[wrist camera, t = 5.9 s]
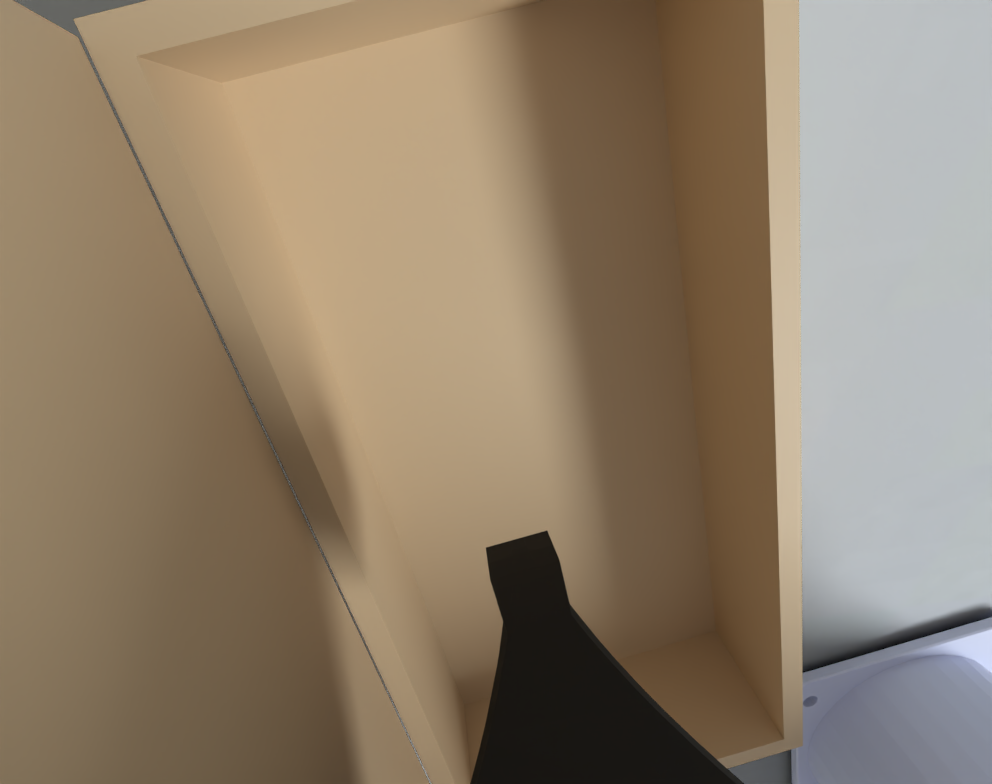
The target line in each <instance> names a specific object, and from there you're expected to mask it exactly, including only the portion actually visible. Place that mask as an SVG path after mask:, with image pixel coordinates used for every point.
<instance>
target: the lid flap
mask: <svg viewBox="0 0 992 784" xmlns="http://www.w3.org/2000/svg"><path fill="white" fill-rule="evenodd" d="M0 784H430V783H429V781H428V779H427V777H426V775H425V772H424V770H423V768H422V766H421V764H420V762H419V760H418V758H417V755H416V753H415V751H414V749H413V747H412V745H411V743H410V741H409V739H408V736H407V734H406V732H405V730H404V728H403V726H402V724H401V722H400V719H399V717H398V715H397V713H396V711H395V709H394V707H393V705H392V702H391V700H390V698H389V696H388V694H387V692H386V690H385V688H384V685H383V683H382V681H381V679H380V677H379V675H378V673H377V671H376V668H375V666H374V664H373V662H372V660H371V658H370V656H369V654H368V652H367V649H366V647H365V645H364V643H363V641H362V639H361V637H360V635H359V632H358V630H357V628H356V626H355V624H354V622H353V620H352V618H351V615H350V613H349V611H348V609H347V607H346V605H345V603H344V601H343V598H342V596H341V594H340V592H339V590H338V588H337V586H336V584H335V582H334V579H333V577H332V575H331V573H330V571H329V569H328V567H327V565H326V562H325V560H324V558H323V556H322V554H321V552H320V550H319V548H318V545H317V543H316V541H315V539H314V537H313V535H312V533H311V531H310V528H309V526H308V524H307V522H306V520H305V518H304V516H303V514H302V512H301V509H300V507H299V505H298V503H297V501H296V499H295V497H294V495H293V492H292V490H291V488H290V486H289V484H288V482H287V480H286V478H285V475H284V473H283V471H282V469H281V467H280V465H279V463H278V461H277V458H276V456H275V454H274V452H273V450H272V448H271V446H270V444H269V441H268V439H267V437H266V435H265V433H264V431H263V429H262V427H261V425H260V422H259V420H258V418H257V416H256V414H255V412H254V410H253V408H252V405H251V403H250V401H249V399H248V397H247V395H246V393H245V391H244V388H243V386H242V384H241V382H240V380H239V378H238V376H237V374H236V371H235V369H234V367H233V365H232V363H231V361H230V359H229V357H228V355H227V352H226V350H225V348H224V346H223V344H222V342H221V340H220V338H219V335H218V333H217V331H216V329H215V327H214V325H213V323H212V321H211V318H210V316H209V314H208V312H207V310H206V308H205V306H204V304H203V301H202V299H201V297H200V295H199V293H198V291H197V289H196V287H195V285H194V282H193V280H192V278H191V276H190V274H189V272H188V270H187V268H186V265H185V263H184V261H183V259H182V257H181V255H180V253H179V251H178V248H177V246H176V244H175V242H174V240H173V238H172V236H171V234H170V231H169V229H168V227H167V225H166V223H165V221H164V219H163V217H162V215H161V212H160V210H159V208H158V206H157V204H156V202H155V200H154V198H153V195H152V193H151V191H150V189H149V187H148V185H147V183H146V181H145V178H144V176H143V174H142V172H141V170H140V168H139V166H138V164H137V161H136V159H135V157H134V155H133V153H132V151H131V149H130V147H129V144H128V142H127V140H126V138H125V136H124V134H123V132H122V130H121V128H120V125H119V123H118V121H117V119H116V117H115V115H114V113H113V111H112V108H111V106H110V104H109V102H108V100H107V98H106V96H105V94H104V91H103V89H102V87H101V85H100V83H99V81H98V79H97V77H96V74H95V72H94V70H93V68H92V66H91V64H90V62H89V60H88V58H87V55H86V53H85V51H84V49H83V47H82V45H81V43H80V41H79V38H78V37H77V36H75V35H74V34H72V33H70V32H68V31H66V30H65V29H63V28H61V27H59V26H58V25H56V24H54V23H52V22H51V21H49V20H47V19H45V18H44V17H42V16H40V15H38V14H36V13H35V12H33V11H31V10H29V9H28V8H26V7H24V6H22V5H21V4H19V3H17V2H15V1H13V0H0Z"/></svg>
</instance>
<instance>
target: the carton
mask: <svg viewBox="0 0 992 784" xmlns="http://www.w3.org/2000/svg"><path fill="white" fill-rule="evenodd" d="M73 20H74V22H75V24H76V26H77V28H78V30H79V33H80V35H81V37H82V39H83V41H84V43H85V45H86V47H87V50H88V52H89V54H90V56H91V58H92V60H93V62H94V65H95V67H96V69H97V71H98V73H99V75H100V77H101V79H102V82H103V84H104V86H105V88H106V90H107V92H108V94H109V97H110V99H111V101H112V103H113V105H114V107H115V109H116V111H117V114H118V116H119V118H120V120H121V122H122V124H123V126H124V128H125V131H126V133H127V135H128V137H129V139H130V141H131V143H132V146H133V148H134V150H135V152H136V154H137V156H138V158H139V160H140V163H141V165H142V167H143V169H144V171H145V173H146V175H147V178H148V180H149V182H150V184H151V186H152V188H153V190H154V192H155V195H156V197H157V199H158V201H159V203H160V205H161V207H162V210H163V212H164V214H165V216H166V218H167V220H168V222H169V224H170V227H171V229H172V231H173V233H174V235H175V237H176V239H177V242H178V244H179V246H180V248H181V250H182V252H183V254H184V256H185V259H186V261H187V263H188V265H189V267H190V269H191V271H192V274H193V276H194V278H195V280H196V282H197V284H198V286H199V288H200V291H201V293H202V295H203V297H204V299H205V301H206V303H207V305H208V308H209V310H210V312H211V314H212V316H213V318H214V320H215V323H216V325H217V327H218V329H219V331H220V333H221V335H222V337H223V340H224V342H225V344H226V346H227V348H228V350H229V352H230V355H231V357H232V359H233V361H234V363H235V365H236V367H237V369H238V372H239V374H240V376H241V378H242V380H243V382H244V384H245V387H246V389H247V391H248V393H249V395H250V397H251V399H252V401H253V404H254V406H255V408H256V410H257V412H258V414H259V416H260V419H261V421H262V423H263V425H264V427H265V429H266V431H267V433H268V436H269V438H270V440H271V442H272V444H273V446H274V448H275V450H276V453H277V455H278V457H279V459H280V461H281V463H282V465H283V468H284V470H285V472H286V474H287V476H288V478H289V480H290V482H291V485H292V487H293V489H294V491H295V493H296V495H297V497H298V500H299V502H300V504H301V506H302V508H303V510H304V512H305V514H306V517H307V519H308V521H309V523H310V525H311V527H312V529H313V532H314V534H315V536H316V538H317V540H318V542H319V544H320V546H321V549H322V551H323V553H324V555H325V557H326V559H327V561H328V564H329V566H330V568H331V570H332V572H333V574H334V576H335V578H336V581H337V583H338V585H339V587H340V589H341V591H342V593H343V596H344V598H345V600H346V602H347V604H348V606H349V608H350V610H351V613H352V615H353V617H354V619H355V621H356V623H357V625H358V627H359V630H360V632H361V634H362V636H363V638H364V640H365V642H366V645H367V647H368V649H369V651H370V653H371V655H372V657H373V659H374V662H375V664H376V666H377V668H378V670H379V672H380V674H381V677H382V679H383V681H384V683H385V685H386V687H387V689H388V691H389V694H390V696H391V698H392V700H393V702H394V704H395V706H396V709H397V711H398V713H399V715H400V717H401V719H402V721H403V723H404V726H405V728H406V730H407V732H408V734H409V736H410V738H411V741H412V743H413V745H414V747H415V749H416V751H417V753H418V755H419V758H420V760H421V762H422V764H423V766H424V768H425V770H426V772H427V775H428V777H429V779H430V781H431V783H432V784H470V782H471V779H472V775H473V771H474V768H475V764H476V760H477V756H478V752H479V748H480V744H481V740H482V736H483V732H484V727H485V723H486V719H487V714H488V709H489V704H490V699H491V694H492V688H493V683H494V678H495V673H496V668H497V663H498V657H499V650H500V642H501V634H502V627H503V620H502V616H501V613H500V610H499V607H498V604H497V600H496V597H495V594H494V591H493V587H492V584H491V581H490V575H489V568H488V561H487V553H486V547H490V546H493V545H497V544H500V543H504V542H508V541H511V540H515V539H518V538H522V537H525V536H529V535H533V534H536V533H540V532H543V531H548V534H549V536H550V538H551V541H552V543H553V545H554V548H555V550H556V553H557V555H558V558H559V560H560V564H561V569H562V573H563V577H564V581H565V586H566V590H567V594H568V598H569V603H570V605H571V606H572V607H573V609H574V610H575V611H576V612H577V614H578V615H579V616H580V617H581V619H582V620H583V621H584V622H585V624H586V625H587V626H588V627H589V629H590V630H591V631H592V632H593V633H594V635H595V636H596V637H597V638H598V640H599V641H600V642H601V643H602V644H603V645H604V646H605V648H606V649H607V650H608V651H609V652H610V653H611V655H612V656H613V657H614V658H615V659H616V660H617V661H618V662H619V663H620V664H621V665H622V667H623V668H624V669H625V670H626V671H627V672H628V673H629V674H630V675H631V676H632V677H633V679H634V680H635V681H636V682H637V683H638V684H639V685H640V686H641V687H642V688H643V689H644V690H645V691H646V692H647V693H648V694H649V695H650V696H651V697H652V698H653V699H654V700H655V701H656V702H657V703H658V704H659V705H660V706H661V707H662V708H663V709H664V710H665V711H666V712H667V713H668V714H669V715H670V716H671V717H672V718H673V719H674V720H675V721H676V722H677V723H678V724H679V725H680V726H681V727H682V728H683V729H684V730H685V731H687V732H688V733H689V734H690V735H691V736H692V737H693V738H694V739H695V740H696V741H697V742H698V743H699V744H700V745H701V746H703V747H704V748H705V749H706V750H707V751H708V752H709V753H710V754H711V755H713V756H714V757H715V758H716V759H717V760H718V761H719V762H720V763H721V764H722V765H724V766H725V767H726V768H727V769H728V768H731V767H735V766H738V765H741V764H745V763H748V762H751V761H755V760H758V759H761V758H765V757H768V756H771V755H775V754H778V753H781V752H785V751H788V750H791V749H795V748H798V747H801V746H803V669H802V484H801V298H800V113H799V0H147V1H143V2H139V3H135V4H131V5H127V6H123V7H119V8H115V9H111V10H107V11H103V12H99V13H95V14H91V15H87V16H83V17H79V18H75V19H73Z"/></svg>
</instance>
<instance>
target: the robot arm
mask: <svg viewBox="0 0 992 784" xmlns="http://www.w3.org/2000/svg"><path fill="white" fill-rule="evenodd" d="M486 553H487V561H488V568H489V575H490V581H491V584H492V587H493V591H494V594H495V597H496V600H497V604H498V607H499V610H500V613H501V616H502V620H503V627H502V634H501V642H500V650H499V657H498V663H497V668H496V673H495V678H494V683H493V688H492V694H491V699H490V704H489V709H488V714H487V719H486V723H485V727H484V732H483V736H482V740H481V744H480V748H479V752H478V756H477V760H476V764H475V768H474V771H473V775H472V779H471V782H470V784H744V783H743V782H742V781H740V780H739V779H738V778H737V777H736V776H735V775H734V774H732V773H731V772H730V771H729V770H728V769H727V768H726V767H725V766H724V765H722V764H721V763H720V762H719V761H718V760H717V759H716V758H715V757H714V756H713V755H711V754H710V753H709V752H708V751H707V750H706V749H705V748H704V747H703V746H701V745H700V744H699V743H698V742H697V741H696V740H695V739H694V738H693V737H692V736H691V735H690V734H689V733H688V732H687V731H685V730H684V729H683V728H682V727H681V726H680V725H679V724H678V723H677V722H676V721H675V720H674V719H673V718H672V717H671V716H670V715H669V714H668V713H667V712H666V711H665V710H664V709H663V708H662V707H661V706H660V705H659V704H658V703H657V702H656V701H655V700H654V699H653V698H652V697H651V696H650V695H649V694H648V693H647V692H646V691H645V690H644V689H643V688H642V687H641V686H640V685H639V684H638V683H637V682H636V681H635V680H634V679H633V677H632V676H631V675H630V674H629V673H628V672H627V671H626V670H625V669H624V668H623V667H622V665H621V664H620V663H619V662H618V661H617V660H616V659H615V658H614V657H613V656H612V655H611V653H610V652H609V651H608V650H607V649H606V648H605V646H604V645H603V644H602V643H601V642H600V641H599V640H598V638H597V637H596V636H595V635H594V633H593V632H592V631H591V630H590V629H589V627H588V626H587V625H586V624H585V622H584V621H583V620H582V619H581V617H580V616H579V615H578V614H577V612H576V611H575V610H574V609H573V607H572V606H571V605H570V603H569V598H568V594H567V590H566V586H565V581H564V577H563V573H562V569H561V564H560V560H559V558H558V555H557V553H556V550H555V548H554V545H553V543H552V541H551V538H550V536H549V534H548V531H543V532H540V533H536V534H533V535H529V536H525V537H522V538H518V539H515V540H511V541H508V542H504V543H500V544H497V545H493V546H490V547H486ZM791 765H792V784H992V617H990V618H986V619H983V620H980V621H976V622H973V623H970V624H966V625H963V626H959V627H956V628H953V629H949V630H946V631H943V632H939V633H936V634H933V635H929V636H926V637H922V638H919V639H916V640H912V641H909V642H906V643H902V644H899V645H895V646H892V647H889V648H885V649H882V650H879V651H875V652H872V653H868V654H865V655H862V656H858V657H855V658H852V659H848V660H845V661H841V662H838V663H835V664H831V665H828V666H825V667H821V668H818V669H814V670H811V671H808V672H804V673H803V746H801V747H798V748H795V749H791Z"/></svg>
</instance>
